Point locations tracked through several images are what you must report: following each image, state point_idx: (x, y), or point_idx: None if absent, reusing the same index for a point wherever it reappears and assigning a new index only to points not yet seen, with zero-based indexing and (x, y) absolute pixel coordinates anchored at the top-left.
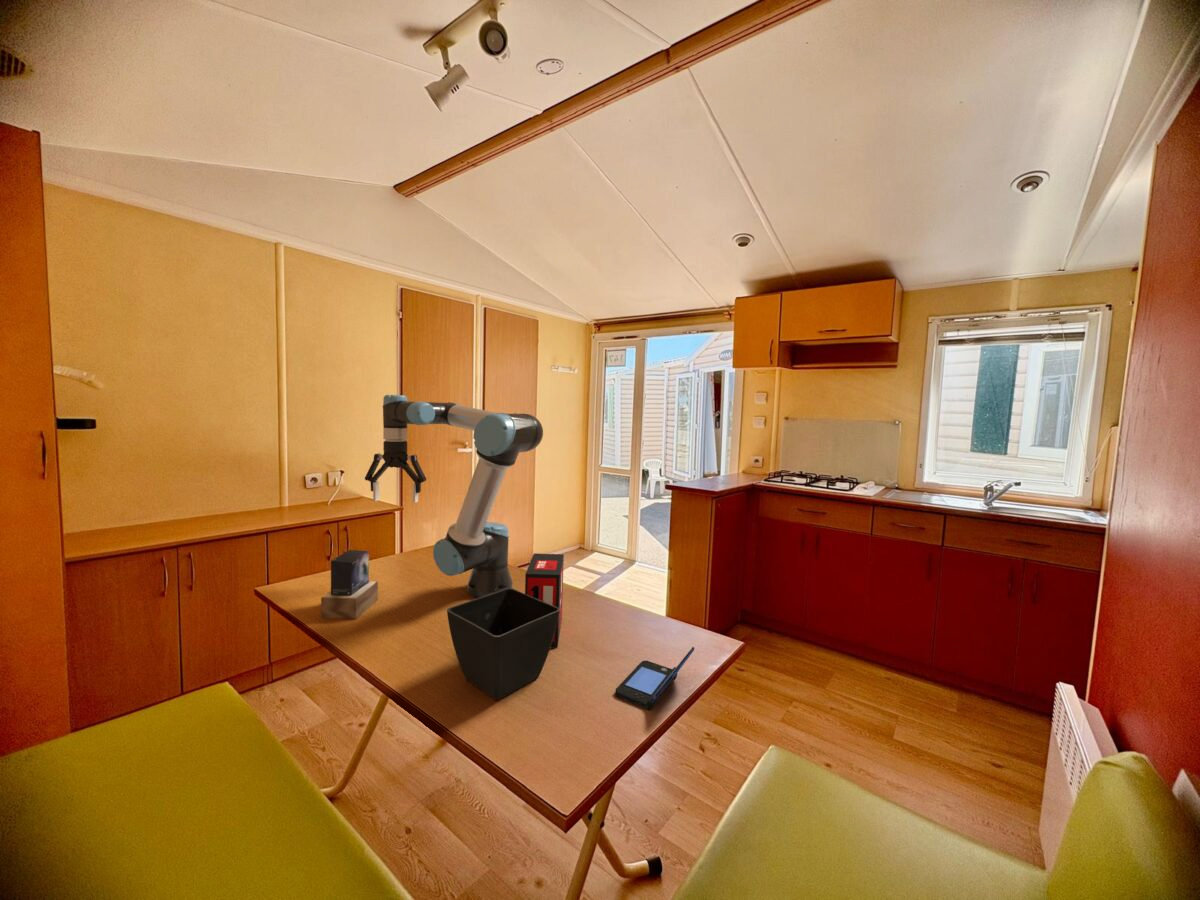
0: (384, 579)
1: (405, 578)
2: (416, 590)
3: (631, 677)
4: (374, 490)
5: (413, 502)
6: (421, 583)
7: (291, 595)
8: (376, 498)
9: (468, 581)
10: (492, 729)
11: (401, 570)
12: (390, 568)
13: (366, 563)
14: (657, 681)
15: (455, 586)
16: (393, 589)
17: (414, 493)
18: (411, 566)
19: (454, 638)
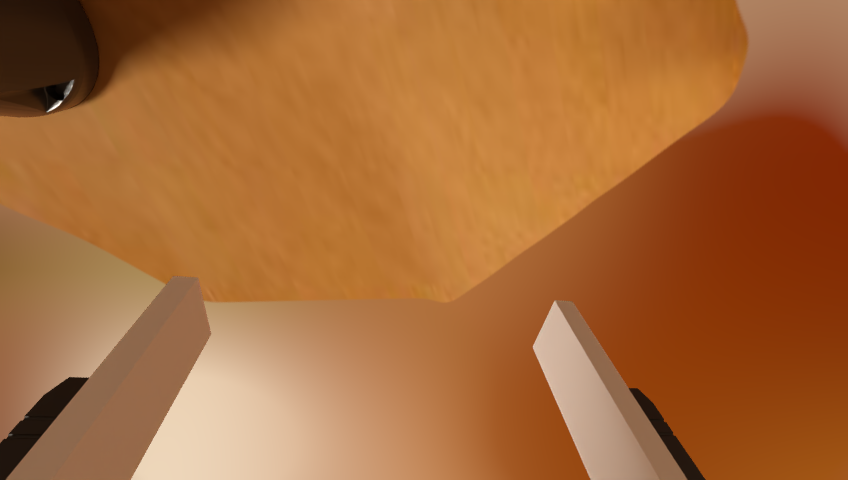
0: (430, 142)
1: (367, 148)
2: (288, 32)
3: None
4: (615, 388)
5: (188, 278)
6: (298, 101)
7: (680, 14)
8: (557, 331)
9: (47, 8)
10: None
11: (401, 212)
12: (437, 227)
13: None
14: None
15: (160, 65)
16: (373, 48)
17: (116, 359)
18: (382, 241)
19: None
